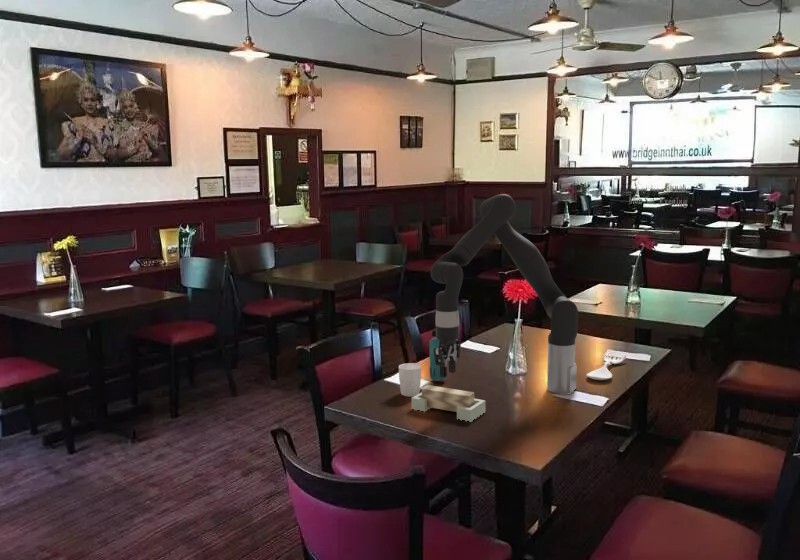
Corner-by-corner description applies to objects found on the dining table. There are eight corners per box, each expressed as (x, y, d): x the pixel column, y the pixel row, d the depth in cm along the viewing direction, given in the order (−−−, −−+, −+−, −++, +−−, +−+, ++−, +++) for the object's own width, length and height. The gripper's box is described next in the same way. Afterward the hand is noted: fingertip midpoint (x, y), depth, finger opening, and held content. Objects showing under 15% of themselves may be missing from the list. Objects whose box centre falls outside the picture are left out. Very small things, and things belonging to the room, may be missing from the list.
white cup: (414, 398, 230) (413, 370, 228) (394, 395, 234) (394, 367, 232) (425, 392, 236) (425, 364, 235) (406, 388, 240) (406, 361, 239)
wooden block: (474, 410, 215) (474, 392, 214) (469, 414, 211) (469, 396, 210) (427, 402, 223) (427, 384, 222) (422, 405, 220) (421, 388, 219)
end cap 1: (411, 409, 219) (411, 397, 219) (427, 400, 228) (427, 389, 227) (424, 412, 217) (424, 400, 216) (440, 402, 225) (440, 391, 224)
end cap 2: (485, 412, 215) (485, 400, 215) (470, 422, 207) (470, 410, 207) (471, 409, 218) (471, 397, 217) (456, 419, 210) (456, 407, 209)
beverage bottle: (449, 380, 249) (449, 328, 245) (443, 385, 243) (442, 332, 239) (433, 378, 251) (432, 326, 248) (426, 383, 245) (425, 330, 242)
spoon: (627, 362, 267) (627, 354, 266) (608, 385, 240) (608, 376, 239) (604, 359, 271) (604, 351, 271) (583, 381, 244) (583, 372, 244)
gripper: (446, 329, 205) (446, 382, 207) (468, 320, 216) (468, 370, 219) (425, 327, 209) (426, 379, 212) (448, 318, 220) (448, 367, 223)
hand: (447, 374), depth 215 cm, fingers open, 5 cm apart
